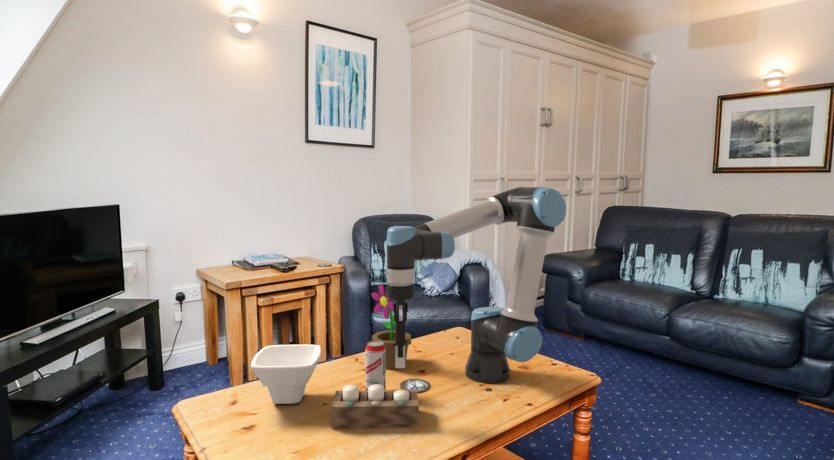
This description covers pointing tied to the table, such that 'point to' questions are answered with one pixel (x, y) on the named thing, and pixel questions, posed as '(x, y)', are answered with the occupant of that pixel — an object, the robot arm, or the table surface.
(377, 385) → the button middle
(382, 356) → the beer can
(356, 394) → the button
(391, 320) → the flowerpot
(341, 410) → the button board
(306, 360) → the bowl
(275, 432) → the table surface
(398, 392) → the button
